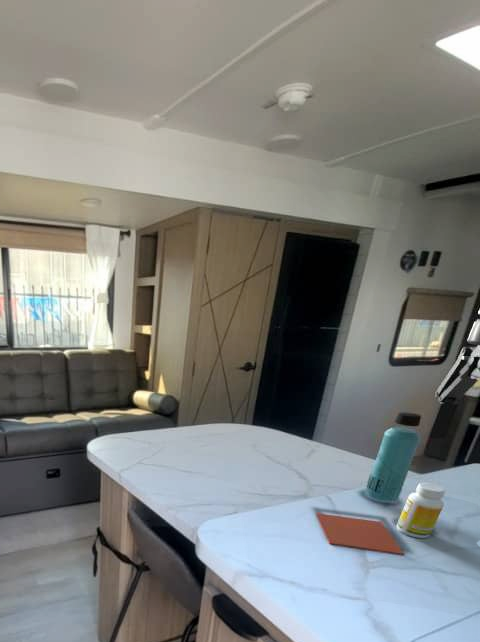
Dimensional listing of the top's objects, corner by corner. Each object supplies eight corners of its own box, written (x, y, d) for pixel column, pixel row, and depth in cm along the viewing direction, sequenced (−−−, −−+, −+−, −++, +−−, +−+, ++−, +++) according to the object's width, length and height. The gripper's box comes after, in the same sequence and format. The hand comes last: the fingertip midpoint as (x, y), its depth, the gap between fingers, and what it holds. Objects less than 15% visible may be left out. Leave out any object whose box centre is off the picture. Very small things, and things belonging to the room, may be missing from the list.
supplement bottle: (389, 526, 80) (406, 482, 76) (409, 523, 82) (427, 479, 78) (416, 540, 76) (436, 494, 71) (436, 536, 77) (457, 491, 73)
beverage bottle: (401, 503, 90) (436, 414, 81) (387, 511, 86) (422, 419, 78) (370, 493, 94) (399, 407, 86) (355, 499, 91) (385, 411, 82)
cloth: (380, 522, 82) (380, 521, 81) (404, 555, 71) (404, 553, 71) (315, 514, 84) (316, 512, 84) (329, 544, 74) (329, 542, 74)
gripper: (440, 315, 74) (401, 428, 83) (533, 320, 52) (466, 473, 61) (489, 316, 72) (444, 431, 81) (607, 322, 50) (526, 478, 60)
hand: (453, 449), depth 71 cm, fingers open, 13 cm apart
